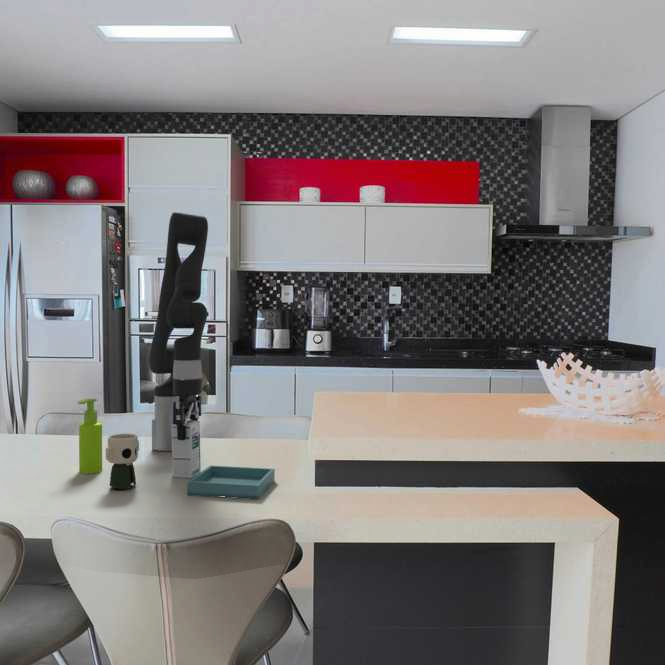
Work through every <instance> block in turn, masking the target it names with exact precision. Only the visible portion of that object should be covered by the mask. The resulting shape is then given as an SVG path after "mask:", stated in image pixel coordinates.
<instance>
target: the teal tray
mask: <svg viewBox="0 0 665 665" xmlns="http://www.w3.org/2000/svg"><path fill="white" fill-rule="evenodd" d="M275 470H276V469H275V468H266V467H264V468H262V467H249V466H248V467H247V466H246V467H245V466H227V465H212V464H210V465H209V466H207V467H206V468H205V469H203V470H202V471H201V472H200V473H199V474H197V475H195V476H194V477H193V478H190V480H188V481H187V496H194V495H199V496H198V497H210V496H225V497H224V498H226V497H237V498H236V499H242V498H249V499H248V500H259V499H260V498H261V497H262V496H263V495H264V494H265V493H266V492H267V490H268V489H269V488H270V487H271V486H272V485H273V483H275V482H276V481H275V480H276V479H275V478H276V476H275V475H276V474H275V472H276V471H275ZM264 492H265V493H264ZM263 493H264V494H263ZM262 494H263V495H262Z"/></svg>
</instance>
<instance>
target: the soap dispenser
mask: <svg viewBox="0 0 665 665" xmlns="http://www.w3.org/2000/svg"><path fill="white" fill-rule="evenodd" d="M97 399H98V398H84V399H80V400H79V401H77V403H78V404H79V405H85V404H87V406H86V409H85V410H84V411H83V422H82V423H79V425H78V440H79V441H78V450H79V451H78V453H79V456H78V457H79V458H78V460H79V462H78V463H79V465H78V466H79V471H78V472H79V473H80V474H84V475H92V474H93V473H94V474H98V473H101V472H103V422H101V421H100V422H99V421H98V410H97V409H95V402H97V401H98V400H97Z"/></svg>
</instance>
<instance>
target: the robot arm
mask: <svg viewBox="0 0 665 665" xmlns="http://www.w3.org/2000/svg"><path fill="white" fill-rule="evenodd" d="M208 232H209V222H208V218H207V217H205V216H204V215H200V214H195V213H191V212H190V213H189V212H183V211H173V212H172V213H171V215H170V219H169V223H168V232H167V242H166V254H165V264H164V270H163V276H162V281H161V287H160V294H159V298H158V300H159V301H158V302H159V303H158V310H157V317H156V323H155V328H154V332H153V336H152V340H151V344H150V349H149V353H148V354H149V355H148V365H149V370H150V372H151V373H153V374H155V375H165V374H166V375H168V374H170V376H169V377H168V378H167V379H165V381H163V382H161V383H159V384H156V385H155V387H154V392H153V393H154V418H152V419H151V450H154V451H158V452H172V424H174V425H176V426H177V439H178V440H185V439H186V423H187V420H195V421H199V419H200V417H201V416H202V396H201V394H202V392H203V383H202V382H203V378H202V377H203V373H202V372H203V371H202V370H203V369H202V367H203V366H202V361H201V359H202V357H201V356H202V352H201V349H202V338H203V335H204V334H203V333H204V330H205V326H206V323H207V319H208V308H207V307H206V305H205V304H203V303H202V302H198V300H199V299H200V298H201V295H202V272H203V264H204V260H205V254H206V247H207V241H208ZM179 244H180V245H186V246H194V248H193V250H192V252H190V254H189V255H188V256H187V257H186V258H185V259H184V260H182V259H181V256H180V254H179V253H180V252H179ZM175 329H183V330H184V329H193V332H191V334H190V335H188V336H187V335H186V336H182V337H179V338H176V339H175V340H174V342H173V344H170V343H169V344H168V342H169V339H170V336H171V335H172V332H173V331H174V330H175Z"/></svg>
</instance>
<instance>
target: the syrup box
mask: <svg viewBox="0 0 665 665" xmlns="http://www.w3.org/2000/svg"><path fill="white" fill-rule="evenodd" d="M171 460H172V461H171V463H172V464H171V465H172V466H171V467H172V468H171V469H172V470H171V471H172V473H171V474H172V477H173V478H180V479H181V478H182V479H192V478H194V477H195V476H196V475H198V474H199V473H200V472H202V471H201V424H200V421H199V420H198V421H195V420H190V419H187V423H186V439H185V440H178V439H177V426H176V425H174V424H172V451H171Z"/></svg>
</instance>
